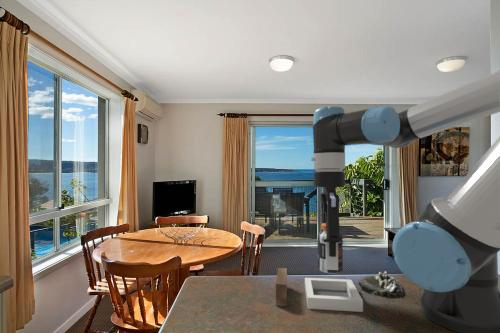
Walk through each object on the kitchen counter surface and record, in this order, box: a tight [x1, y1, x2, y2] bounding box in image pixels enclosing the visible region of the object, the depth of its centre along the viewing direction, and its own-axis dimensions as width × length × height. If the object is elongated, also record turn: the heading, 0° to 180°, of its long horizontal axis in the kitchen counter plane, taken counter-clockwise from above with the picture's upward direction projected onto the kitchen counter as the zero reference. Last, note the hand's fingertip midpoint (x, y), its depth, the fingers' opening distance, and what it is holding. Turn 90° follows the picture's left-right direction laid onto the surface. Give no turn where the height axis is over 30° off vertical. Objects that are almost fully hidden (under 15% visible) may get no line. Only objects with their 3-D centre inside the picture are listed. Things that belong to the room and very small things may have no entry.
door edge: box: [275, 267, 288, 307], centre depth 70 cm, size 2×11×5 cm, turn 172°
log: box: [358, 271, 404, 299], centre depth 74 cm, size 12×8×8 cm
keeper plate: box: [304, 277, 364, 313], centre depth 68 cm, size 12×12×2 cm
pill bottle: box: [317, 223, 344, 275], centre depth 69 cm, size 6×6×11 cm
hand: (329, 264), depth 69 cm, fingers closed on pill bottle, 6 cm apart
